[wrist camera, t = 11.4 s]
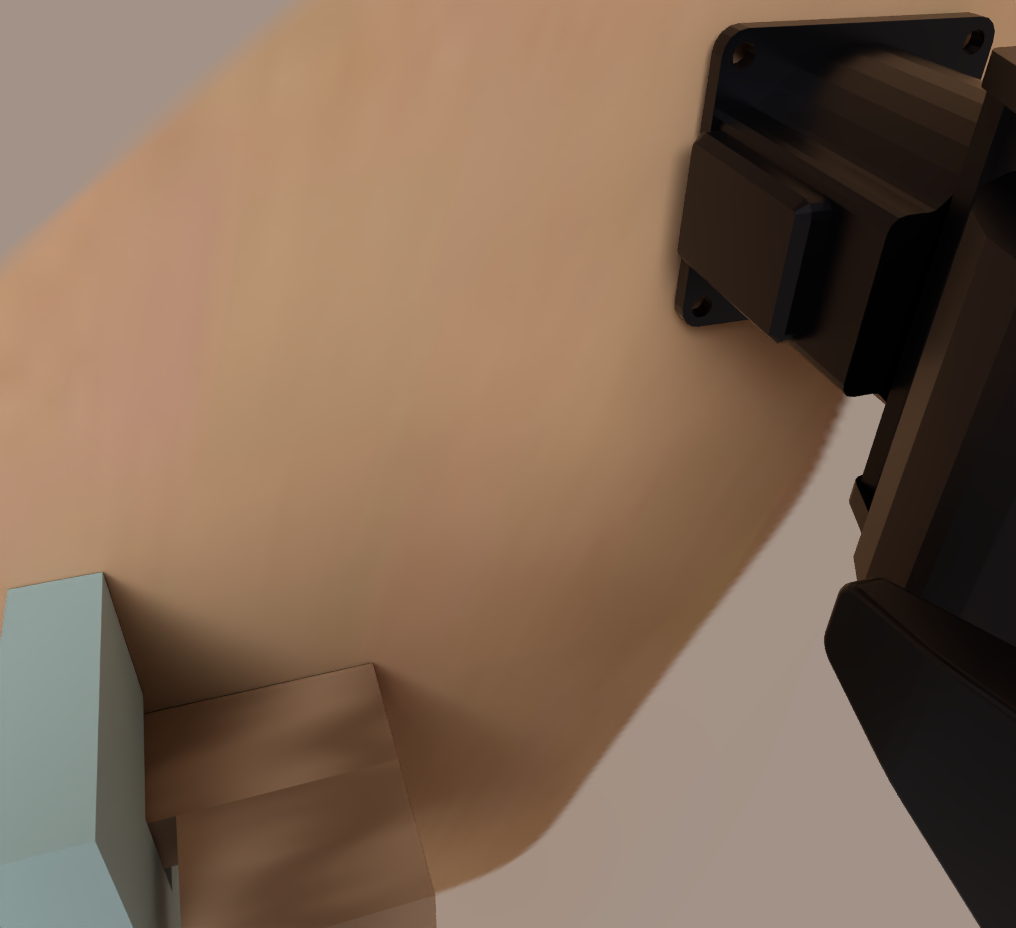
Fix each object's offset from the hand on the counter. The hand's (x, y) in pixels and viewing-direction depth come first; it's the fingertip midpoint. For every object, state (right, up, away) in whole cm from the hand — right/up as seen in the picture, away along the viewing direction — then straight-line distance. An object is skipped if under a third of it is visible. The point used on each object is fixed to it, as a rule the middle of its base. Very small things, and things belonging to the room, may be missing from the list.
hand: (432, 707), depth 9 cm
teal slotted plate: (-10, -5, +16) cm, 19 cm away
